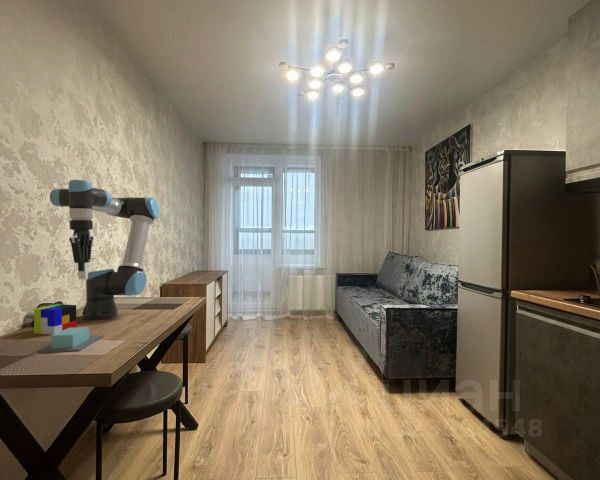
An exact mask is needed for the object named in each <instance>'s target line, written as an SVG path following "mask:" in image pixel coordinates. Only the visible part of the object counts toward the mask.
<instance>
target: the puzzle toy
mask: <svg viewBox="0 0 600 480" xmlns="http://www.w3.org/2000/svg"><path fill="white" fill-rule="evenodd" d="M76 327H77V304H65V303H62V304H59V303H57V304H52V305H47V306H43V307H42V306H41V307H37V308H33V333H34V334H37V335H38V334H39V335H41V334H42V335H50V336H51V335H54V334H56V333H58V332H61V331H63V330H65V329H67V328H76Z"/></svg>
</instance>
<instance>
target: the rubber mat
mask: <svg viewBox="0 0 600 480" xmlns="http://www.w3.org/2000/svg"><path fill="white" fill-rule="evenodd" d="M102 338H104V335H103V334H102V335H101V334H100V335H89V339H88V340H87V341H85V342H83V343H81V344H79V345H77V346H76V347H74V348H59V349H51V344H49V345H48V346H46V347H45V346H44V347H43V348H41V349H40V350H38V352H37V353H39V354H41V353H42V354H43V353H62V352H63V353H65V352H66V353H67V352H68V353H69V352H81V351H82V350H84V349H86V348H87V347H89V346H91V345H92V344H94V343H96V342H97V341H99V340H101V339H102Z"/></svg>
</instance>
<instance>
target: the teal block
mask: <svg viewBox="0 0 600 480" xmlns="http://www.w3.org/2000/svg"><path fill="white" fill-rule="evenodd" d="M89 336H90V327H89V326H82V327H81V326H80V327H78V326H76V328H67V329H65V330H63V331H61V332H58V333H56V334H54V335H51V334H50V345H51V349H59V348H74V347H76V346H77V345H79V344H81V343H83V342H85V341H87V340H88V339H89Z"/></svg>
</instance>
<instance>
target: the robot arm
mask: <svg viewBox="0 0 600 480" xmlns="http://www.w3.org/2000/svg"><path fill="white" fill-rule="evenodd" d="M49 201H50V203H51V204H52V205H53V206H55V207H61V208H64V207H68V208H69V211H68V214H69V219H71V220H69V229H70V230H72V231H73V233H72V234H73V235H72V237H69V239H68V240H69V242H70V246H71V251H72V257H73V262H74V264H77V272H78V274H77V276H78V280H85V284H86V285H85V289H86V291H85V294H86V295H85V296H86V298H85V299H86V300H85V305H84V308H83V310H82V313H81V318H82V320H87V321H88V320H89V321H95V320H97V321H98V320H103V319H104V320H105V319H109V318H110V319H111V318H113V317H114V318H115V317H117V316H118V315H119V309H118V307H117V303H116V302H115V296H138V295H139V294H141V293H142V292H143V291H144V290H145V288H146V285H147V281H148V280H147V274H146V272H144V269H143V267H142V266H143V265H142V264H143V259H144V254H145V249H146V244H147V238H148V235H149V229H150V226H151V225H153V224H154V221H155V220H157V219H158V218H160V214H161V213H160V212H161V211H160V205H159V203H158V201H157V200H156V198H154V197H148V196H145V197H142V196H141V197H137V196H136V197H135V196H133V197H127V196H126V197H113V196H112V194H111V193H110V192H109V191H108V190H106V189H105V190H104V189H103V188H96V187H93V185H92V182H91V181H89V180H83V179H70V180H69V181H68V188H54V189H51V191H50V192H49ZM93 211H94V212H99V213H100V212H101V213H104V214H106V215H108V216H112V217H117V218H122V219H128V220H130V222H131V225H130V229H129V233H128V237H127V242H126V246H125V251H124V255H123V260H122V264H120V265H118V267H117V270H116V271H115V269H114V268H107V269H101V270H94V271H93V270H92V271H89V269H88V263H90V262H91V258H92V249H93V248H92V247H93V241H94V237H93V236H90V235H91V233H90V230H93V229H94V224H93V223H94V221H93V219H94V217H93V216H94V215H93Z"/></svg>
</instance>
